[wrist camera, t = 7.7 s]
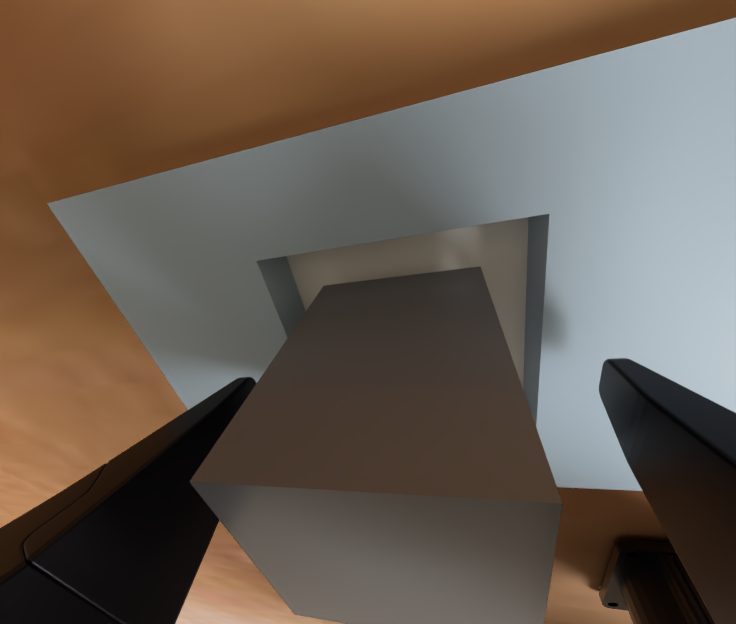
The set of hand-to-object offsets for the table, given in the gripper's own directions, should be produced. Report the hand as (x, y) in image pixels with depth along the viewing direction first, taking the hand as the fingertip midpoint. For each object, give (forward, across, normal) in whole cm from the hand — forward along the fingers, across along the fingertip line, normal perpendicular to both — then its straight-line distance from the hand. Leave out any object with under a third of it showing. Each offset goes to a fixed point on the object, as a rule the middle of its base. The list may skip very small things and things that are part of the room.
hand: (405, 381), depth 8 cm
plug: (+3, 0, 0) cm, 3 cm away
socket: (+3, 0, 0) cm, 3 cm away
